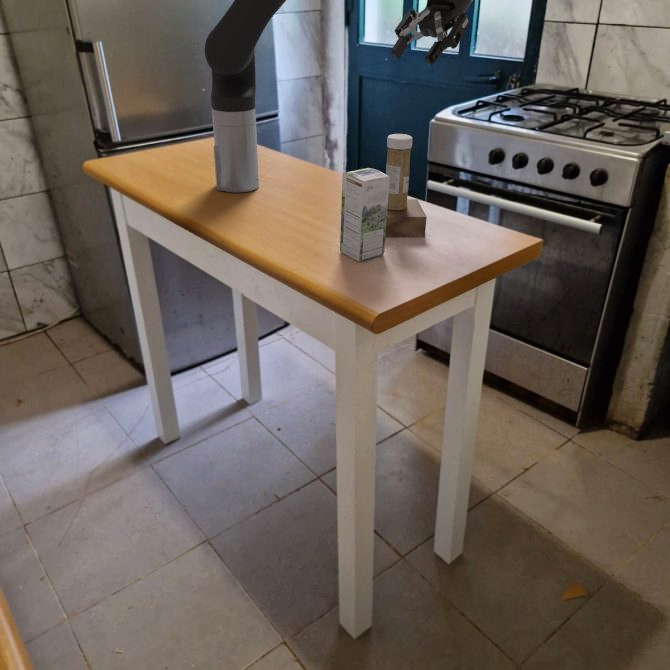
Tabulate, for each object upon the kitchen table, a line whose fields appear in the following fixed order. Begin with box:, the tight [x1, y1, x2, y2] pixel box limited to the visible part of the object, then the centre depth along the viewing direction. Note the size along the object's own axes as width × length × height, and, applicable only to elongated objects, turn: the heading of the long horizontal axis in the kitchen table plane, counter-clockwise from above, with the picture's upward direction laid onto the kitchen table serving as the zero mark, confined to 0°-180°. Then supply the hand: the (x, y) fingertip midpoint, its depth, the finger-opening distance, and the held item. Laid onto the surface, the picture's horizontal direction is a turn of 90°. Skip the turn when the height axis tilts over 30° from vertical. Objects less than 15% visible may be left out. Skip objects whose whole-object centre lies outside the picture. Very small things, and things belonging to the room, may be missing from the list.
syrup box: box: [339, 167, 390, 263], centre depth 107 cm, size 6×6×14 cm
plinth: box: [385, 198, 428, 238], centre depth 121 cm, size 10×10×4 cm
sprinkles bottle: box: [385, 133, 413, 211], centre depth 117 cm, size 5×5×14 cm
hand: (411, 59), depth 120 cm, fingers open, 8 cm apart
